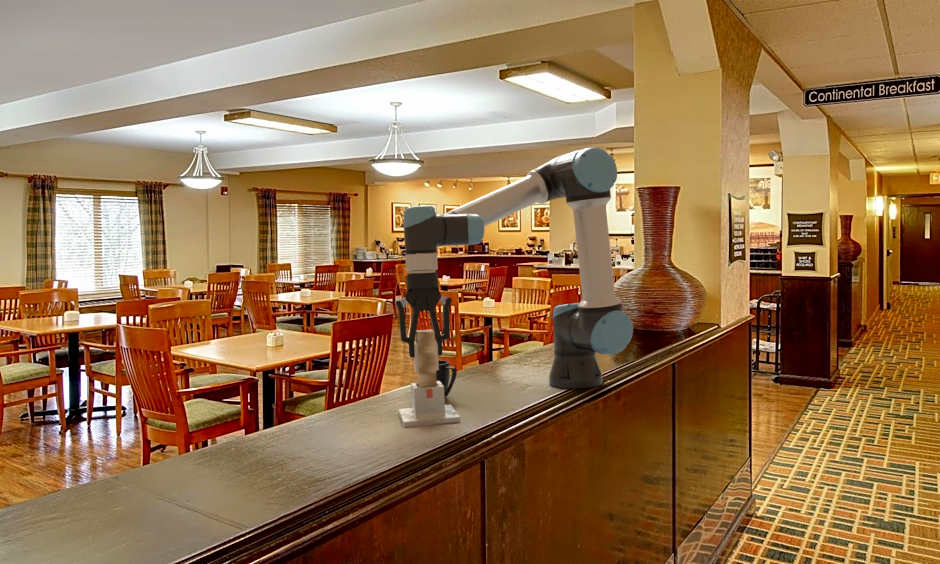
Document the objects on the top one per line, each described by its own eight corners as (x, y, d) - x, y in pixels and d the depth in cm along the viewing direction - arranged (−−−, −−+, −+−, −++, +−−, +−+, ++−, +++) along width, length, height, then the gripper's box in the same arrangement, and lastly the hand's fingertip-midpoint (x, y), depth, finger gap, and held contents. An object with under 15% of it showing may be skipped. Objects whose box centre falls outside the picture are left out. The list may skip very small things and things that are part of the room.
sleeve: (450, 409, 168) (449, 377, 168) (460, 421, 156) (458, 387, 155) (398, 413, 166) (397, 381, 165) (404, 427, 153) (402, 392, 153)
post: (435, 407, 163) (432, 329, 162) (438, 411, 159) (435, 331, 158) (417, 408, 162) (414, 330, 161) (420, 413, 158) (416, 332, 157)
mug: (444, 404, 174) (442, 367, 174) (414, 398, 183) (412, 363, 182) (466, 398, 180) (465, 362, 180) (436, 392, 189) (435, 359, 188)
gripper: (454, 269, 164) (458, 364, 166) (384, 273, 161) (389, 370, 162) (460, 270, 157) (464, 370, 158) (386, 274, 154) (391, 375, 155)
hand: (426, 369), depth 160 cm, fingers closed on post, 4 cm apart
